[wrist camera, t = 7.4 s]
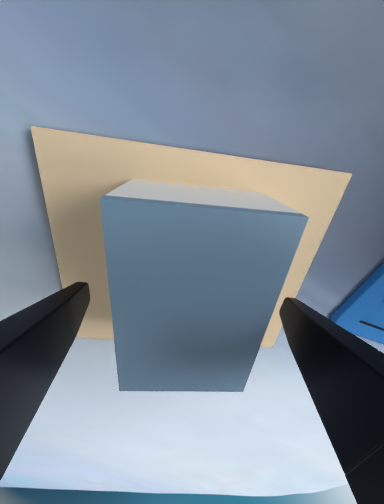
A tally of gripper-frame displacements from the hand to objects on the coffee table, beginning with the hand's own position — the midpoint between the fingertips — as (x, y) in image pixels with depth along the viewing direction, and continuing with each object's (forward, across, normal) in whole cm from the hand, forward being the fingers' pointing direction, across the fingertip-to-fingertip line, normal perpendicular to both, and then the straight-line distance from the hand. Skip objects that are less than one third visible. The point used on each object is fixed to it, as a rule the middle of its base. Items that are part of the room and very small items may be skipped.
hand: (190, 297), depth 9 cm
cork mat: (+3, 0, 0) cm, 3 cm away
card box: (+2, 0, 0) cm, 2 cm away
